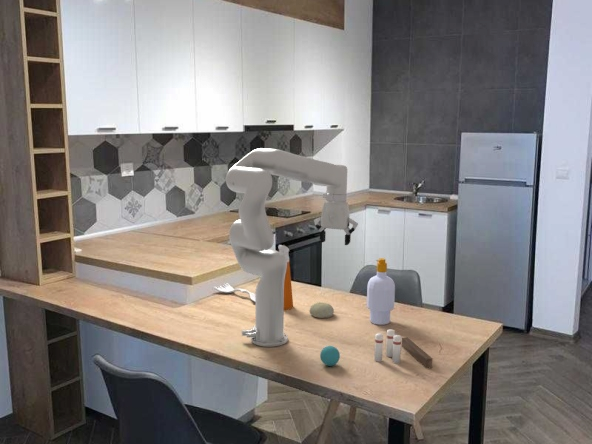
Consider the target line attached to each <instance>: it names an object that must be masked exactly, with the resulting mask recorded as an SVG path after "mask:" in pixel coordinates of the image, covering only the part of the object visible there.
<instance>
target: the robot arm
mask: <svg viewBox="0 0 592 444" xmlns="http://www.w3.org/2000/svg"><path fill="white" fill-rule="evenodd" d="M273 176H277V177H281V178H283V179H284V178H285V179H289V180H293V181H297V182H303V183H311V184H313V185H315V186H321V187H326V192H325V193H324V194H322V198H324V199H325V201H323V203H322V204H323V205H322V209H321V215H320V216H319V217H317V218H315V219H313V223H314V225H315V228H317V230H318V232H319V241H320V243H321V244H322V243H324V242H326V229H329V230H330V229H332V230H340V231H341V230H343V231H344V233H345V235H344V246H348V245H350V244H351V235H352V233H353V232H354V231H355V230H357V229H356V228H357V227H358V225H359V223H358V222H356V221H355V220H354V219H352V218H351V217H350V216H351V215H350V206H349V202H348V201H347V193H348V191H347V190H348V167H347V166H346V165H344V164H334V163H330V162H327V161H323V160H319V159H314V158H311V157H306V156H303V155H302V156H301V155H299V154H295V153H292V152H289V151H285V150H282V149H278V148H277V149H276V148H266V147H264V148H263V147H260V148H256V149H253V150H252V151H250V152H249V153H247V154H246V155H245V156H243V157H242V158H241V159H240V160H239V161H238V162H236V163H235V164H234V165H233V166H232V167H230V168H229V170H228V172H227V174H226V175H225V183H226V186H227V188H228V189H229V190H230V191H232V192H234V193H238V194H244V195H243V197H242V200H241V202H240V203H239V207H238V217H239V219H237V220H235V221H234V222H233V223H232V224H231V226H230V228H229V231H228V232H229V235H228V237H229V242H230V245H231V248H232V251H233V253H234V255H235V258H236V261H237V263H238V265H239V267H240V268H241V270H242V271H244V272H245V273H248V274H251V275H255V276H258V277H260V279H259V281H258V282H257V285H256V286H255V287H256V288H255V293H254V294H255V301H256V302H255V325H253V328H250V329H242V330H241V336H242V337H243V336H244V337H246V338H250V342H251V343H252V344H254V345H255V346H256V345H257V346H258V347H265V348H266V347H267V348H271V347H273V348H274V347H280V346H283V345H285V344H286V343H288V341H289V336H288V335H287V334H286V333H284V323H285V322H284V319H285V318H284V316H285V315H284V313H285V310H284V279H285V274H286V269H287V260H286V258H285V256H284V255H283V254H282V253H280V252H279V250H276V249H271V248H272V247H273V245H274V242H275V239H274V233H273V230H272V227H271V224H270V221H269V219H268V215H267V212H266V201H267V198H268V196H269V194H270V192H271V190H272V187H273ZM350 224H351V225H352V227H351V228H350Z"/></svg>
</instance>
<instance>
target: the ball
mask: <svg viewBox="0 0 592 444" xmlns="http://www.w3.org/2000/svg"><path fill="white" fill-rule="evenodd" d="M340 357H341V353H340V352H339V349H338V348H337V347H336V346H333V345H326V346H324V347H323V348H322V350H321V351H320V361H321V362H322V363H323V364H324V365H325V366H328V367H333V366H335V365H336V364H338V363H339V360H340Z"/></svg>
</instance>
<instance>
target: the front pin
mask: <svg viewBox="0 0 592 444" xmlns="http://www.w3.org/2000/svg"><path fill="white" fill-rule="evenodd" d="M374 337H375V338H374V362H377V363H380V362H383V349H384V348H383V346H384V334H383V333H380V332H379V333H378V332H377V333H375V336H374Z"/></svg>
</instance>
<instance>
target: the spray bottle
mask: <svg viewBox="0 0 592 444" xmlns="http://www.w3.org/2000/svg"><path fill="white" fill-rule="evenodd" d="M277 247H278V252H280V253H282V254H283V255H284V256H285V258H286V260H287V269H286V274H285V279H284V311H287V310H288V309H289V310H292V309H293V308H294V301H293V300H294V299H293V287H292V276H291V267H290V256H289V252H290V249H289V247H288V246H286V245H285V244H283V245H282V244H278V246H277Z"/></svg>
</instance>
